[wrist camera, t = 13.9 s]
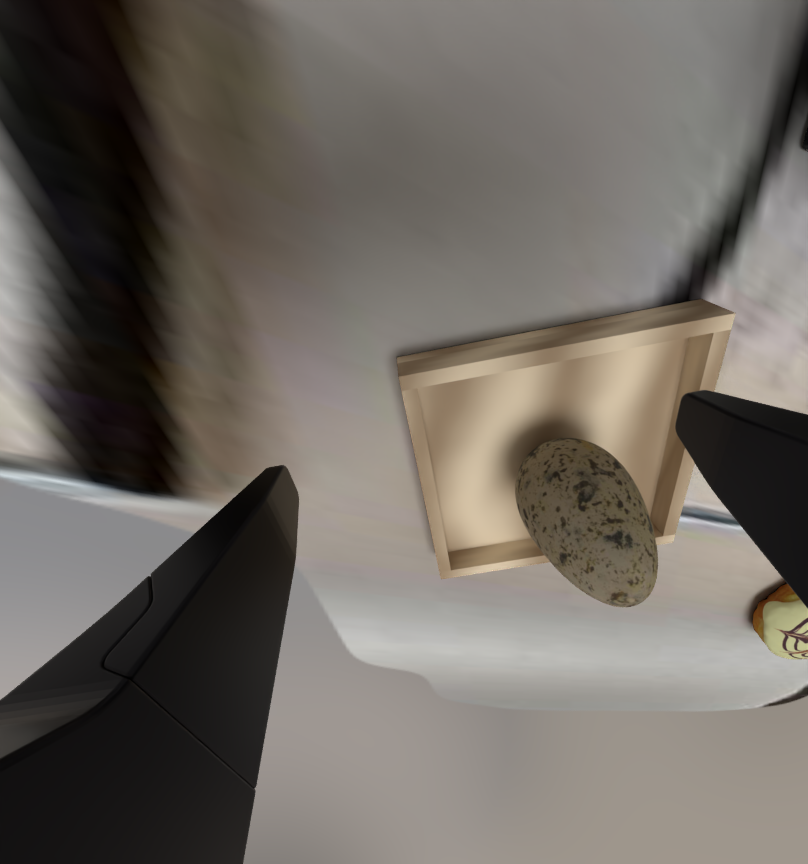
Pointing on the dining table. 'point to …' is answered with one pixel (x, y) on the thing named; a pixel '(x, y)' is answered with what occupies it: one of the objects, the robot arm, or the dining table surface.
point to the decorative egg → (588, 520)
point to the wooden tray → (554, 420)
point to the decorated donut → (783, 624)
